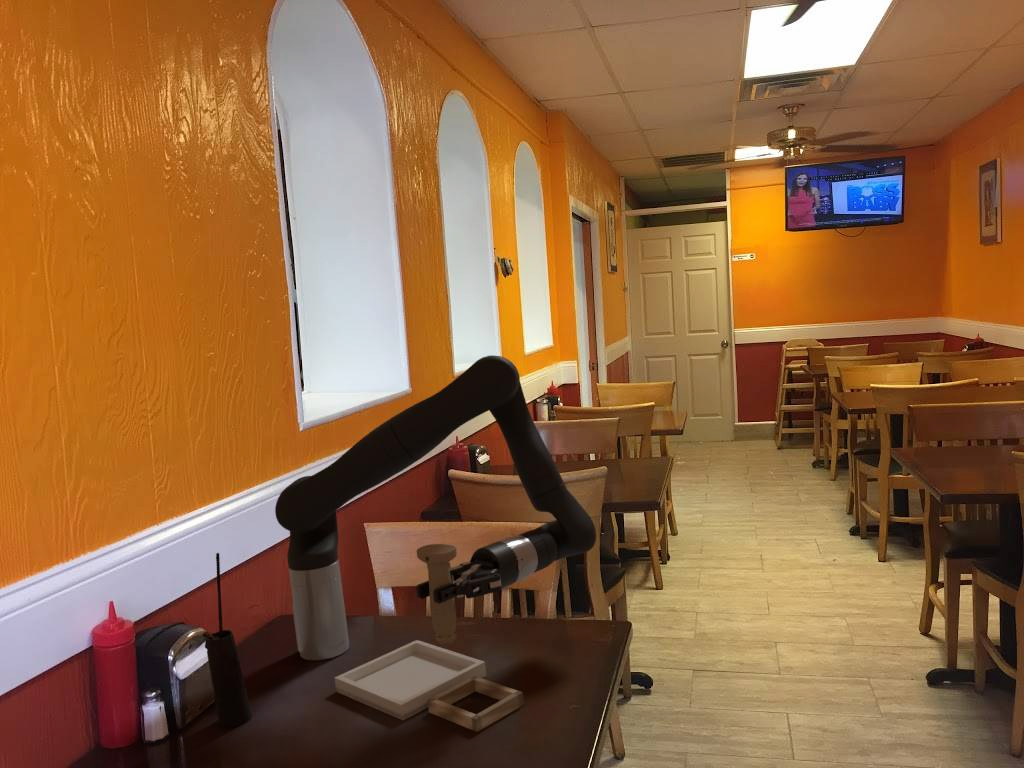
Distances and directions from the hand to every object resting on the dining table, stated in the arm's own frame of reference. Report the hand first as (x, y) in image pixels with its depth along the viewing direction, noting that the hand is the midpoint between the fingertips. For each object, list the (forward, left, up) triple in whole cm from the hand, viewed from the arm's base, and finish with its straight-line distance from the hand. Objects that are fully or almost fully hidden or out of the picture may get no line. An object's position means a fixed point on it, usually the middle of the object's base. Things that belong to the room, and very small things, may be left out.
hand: (427, 594), depth 134 cm
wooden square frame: (+5, +3, -18) cm, 19 cm away
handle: (0, +3, -9) cm, 9 cm away
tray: (-11, +3, -18) cm, 22 cm away
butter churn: (-27, -22, -19) cm, 39 cm away
